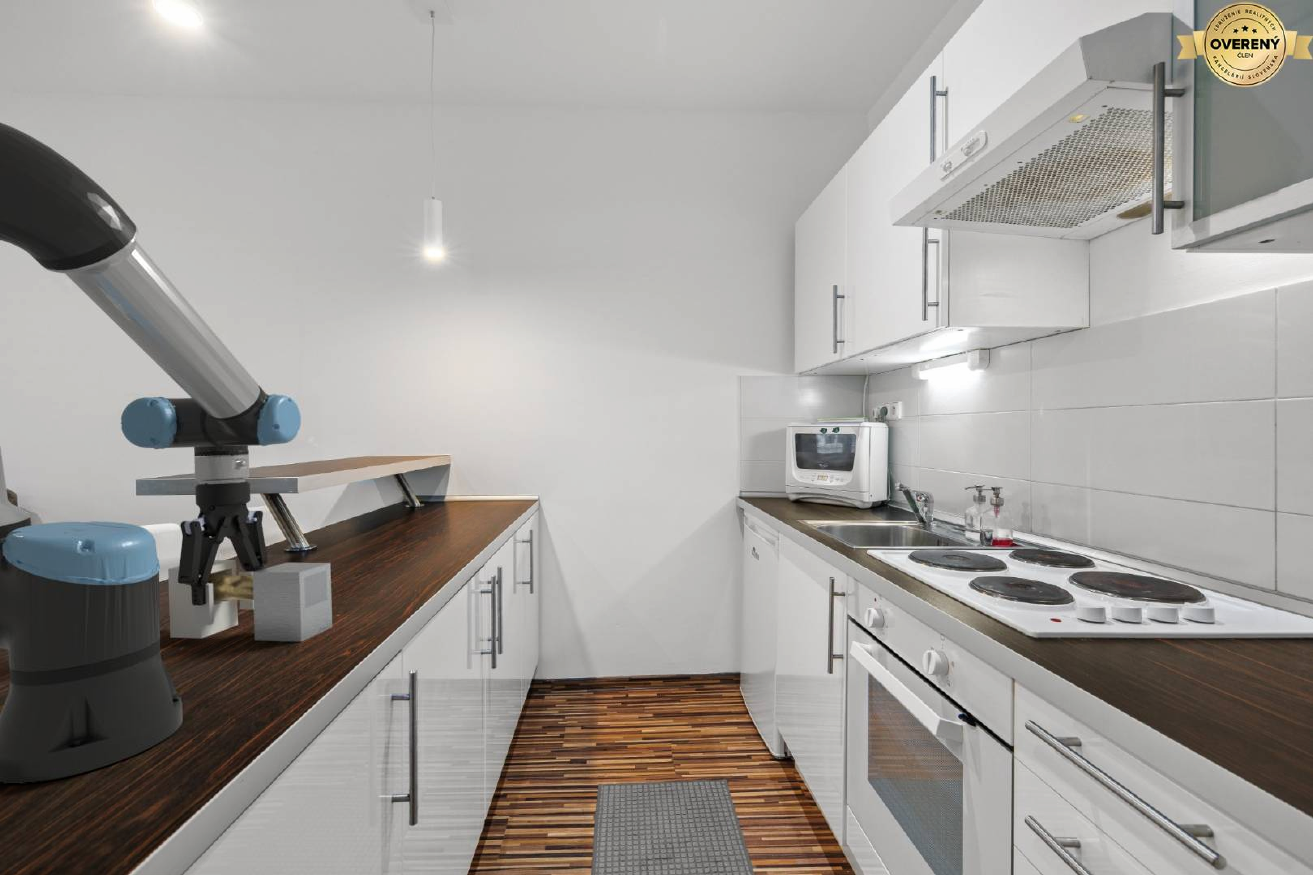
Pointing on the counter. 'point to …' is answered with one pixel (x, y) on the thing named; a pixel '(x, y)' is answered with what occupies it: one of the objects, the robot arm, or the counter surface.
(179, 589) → the socket
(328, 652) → the counter surface
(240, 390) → the robot arm
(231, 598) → the mottled khaki block
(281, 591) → the grey block
